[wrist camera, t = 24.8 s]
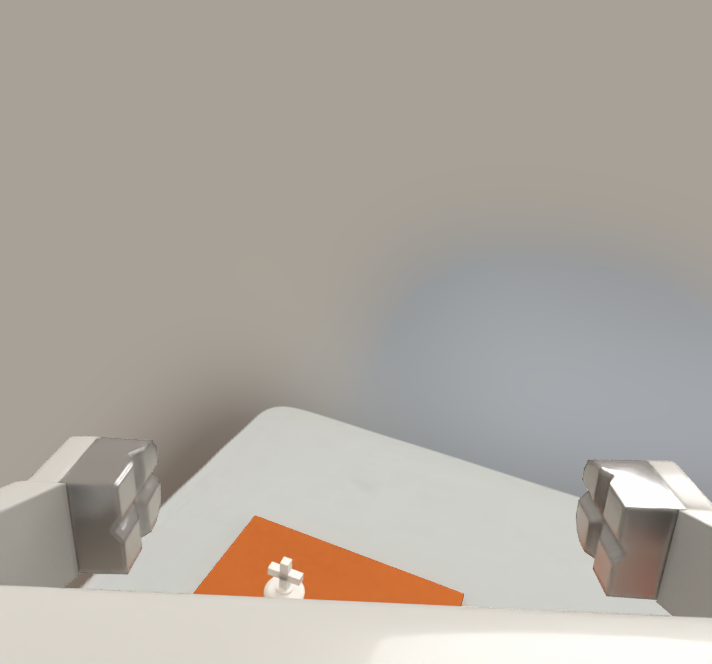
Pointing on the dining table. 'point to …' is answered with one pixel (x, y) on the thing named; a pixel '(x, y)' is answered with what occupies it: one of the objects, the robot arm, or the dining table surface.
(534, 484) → the dining table surface
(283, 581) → the chess piece
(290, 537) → the cloth mat
